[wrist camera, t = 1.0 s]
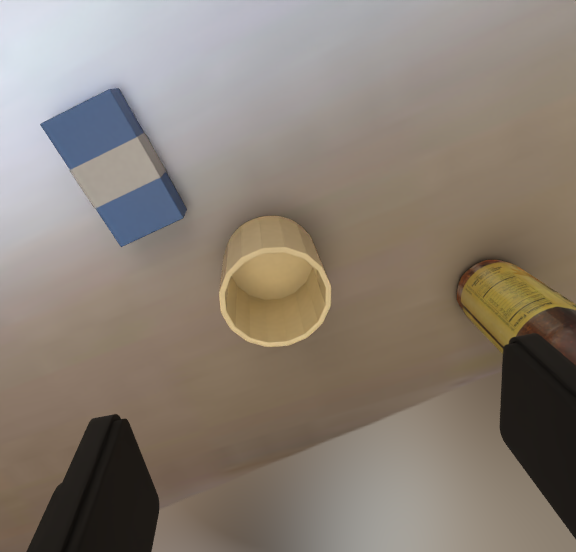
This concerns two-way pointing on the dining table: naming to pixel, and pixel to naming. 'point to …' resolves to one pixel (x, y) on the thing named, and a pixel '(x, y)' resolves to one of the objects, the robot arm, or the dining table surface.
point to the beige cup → (273, 283)
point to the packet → (116, 166)
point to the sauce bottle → (516, 306)
